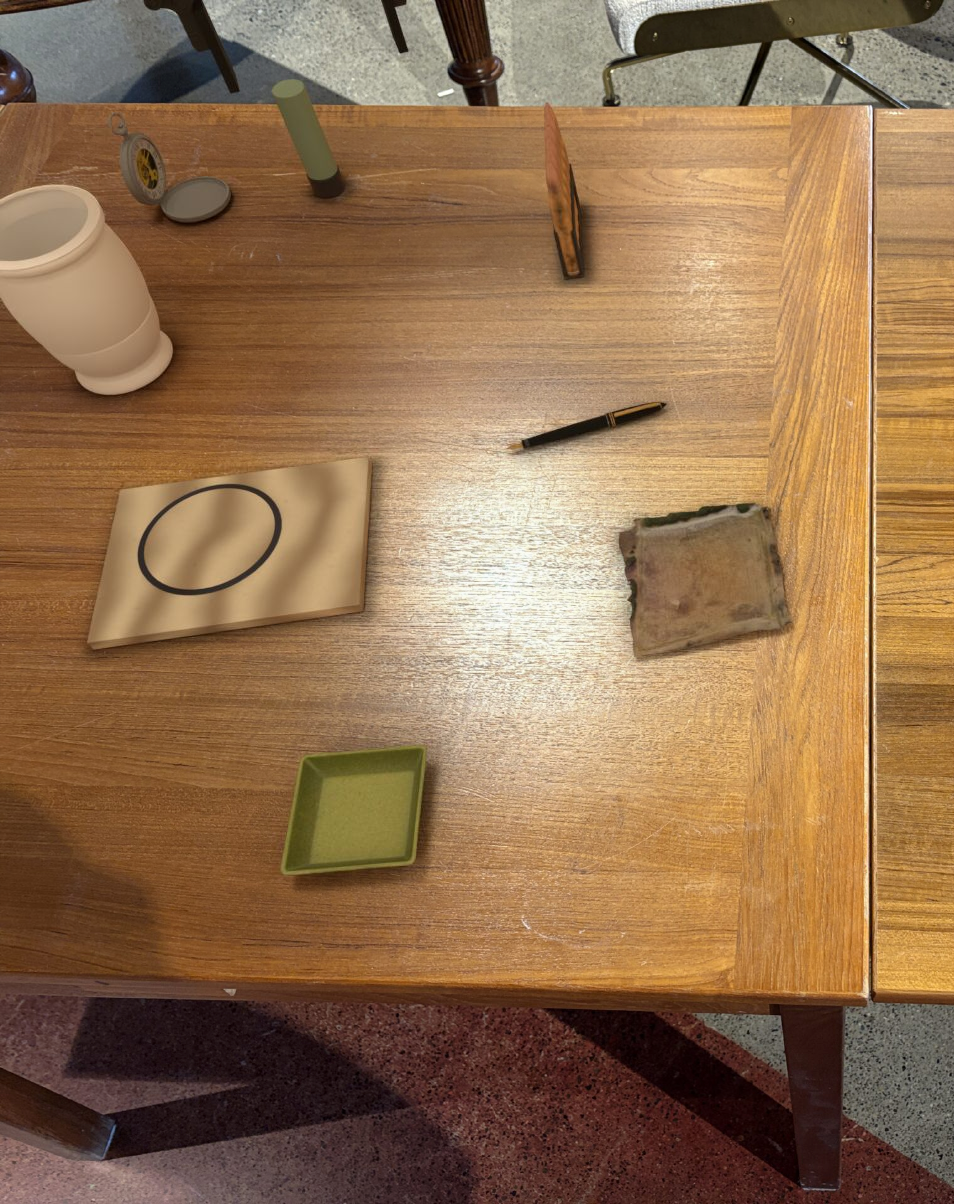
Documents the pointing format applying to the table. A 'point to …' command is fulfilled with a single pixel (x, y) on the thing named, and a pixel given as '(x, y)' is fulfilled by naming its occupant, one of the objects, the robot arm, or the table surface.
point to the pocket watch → (182, 199)
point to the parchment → (702, 577)
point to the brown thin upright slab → (563, 199)
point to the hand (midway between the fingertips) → (318, 64)
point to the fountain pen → (592, 425)
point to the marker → (308, 138)
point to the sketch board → (234, 553)
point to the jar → (79, 289)
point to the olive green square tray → (355, 810)
